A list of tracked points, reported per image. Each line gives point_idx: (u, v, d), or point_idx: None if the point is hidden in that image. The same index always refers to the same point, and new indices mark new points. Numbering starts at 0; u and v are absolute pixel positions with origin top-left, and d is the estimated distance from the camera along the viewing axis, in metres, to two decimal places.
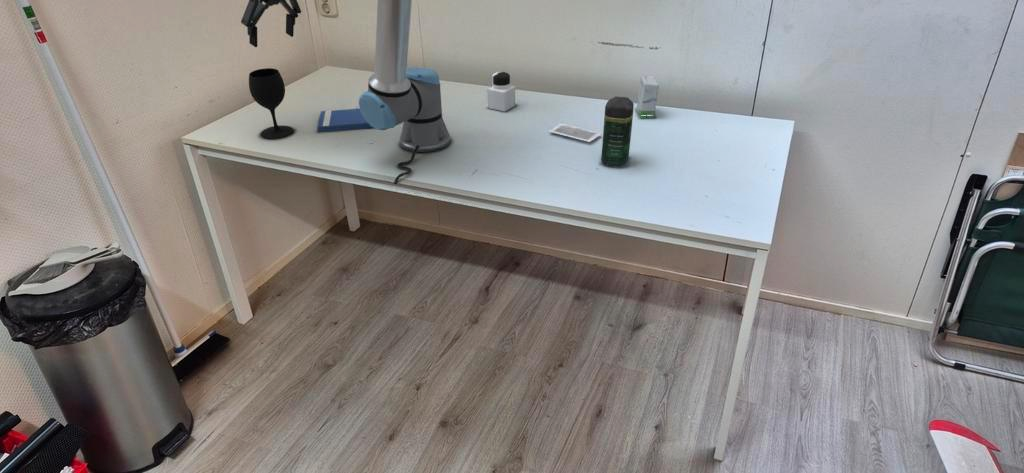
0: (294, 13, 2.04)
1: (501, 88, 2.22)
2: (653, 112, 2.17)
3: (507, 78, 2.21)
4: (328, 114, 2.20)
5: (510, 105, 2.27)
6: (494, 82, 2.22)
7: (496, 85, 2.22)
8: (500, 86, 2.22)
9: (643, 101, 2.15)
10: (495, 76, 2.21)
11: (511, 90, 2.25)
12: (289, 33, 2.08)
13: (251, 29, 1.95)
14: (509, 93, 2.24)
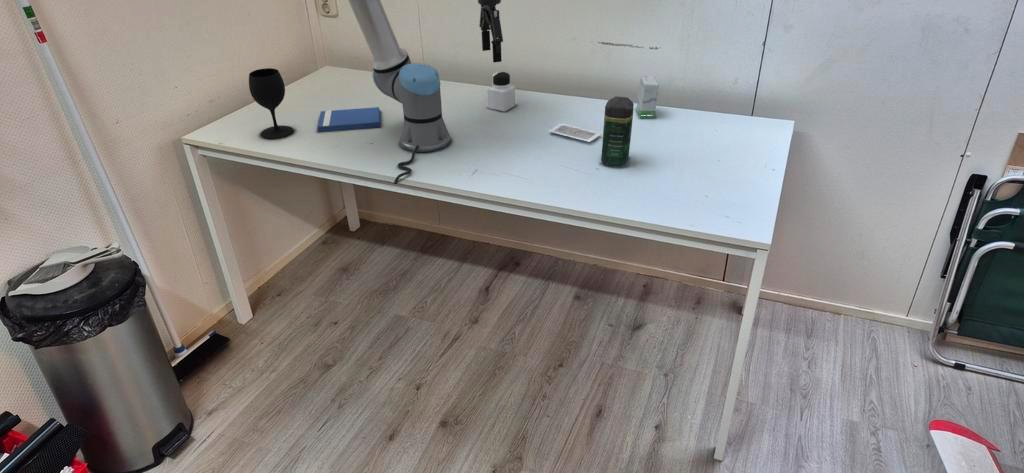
0: (493, 39, 2.12)
1: (501, 88, 2.22)
2: (653, 112, 2.17)
3: (507, 78, 2.21)
4: (328, 114, 2.20)
5: (510, 105, 2.27)
6: (494, 82, 2.22)
7: (496, 85, 2.22)
8: (500, 86, 2.22)
9: (643, 101, 2.15)
10: (495, 76, 2.21)
11: (511, 90, 2.25)
12: None
13: None
14: (509, 93, 2.24)
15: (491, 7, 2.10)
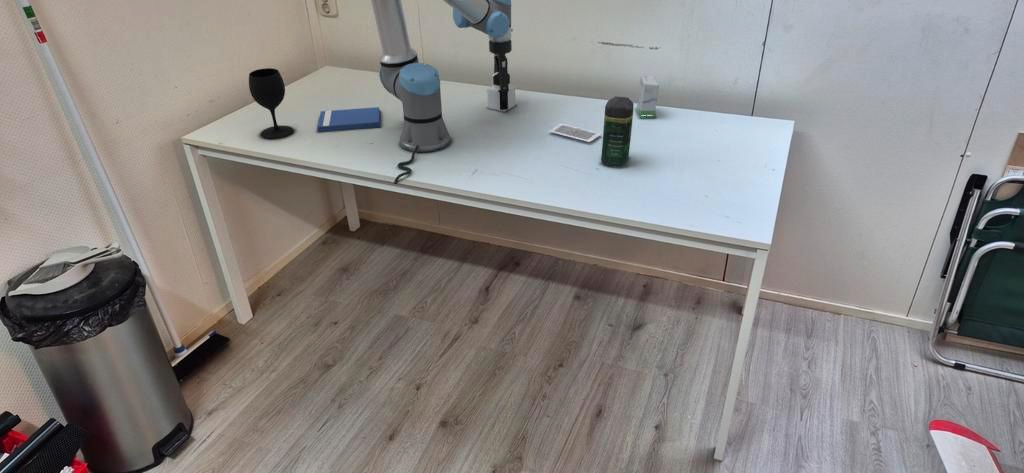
0: (500, 88, 2.19)
1: None
2: (653, 112, 2.17)
3: None
4: (328, 114, 2.20)
5: (510, 105, 2.27)
6: (494, 82, 2.22)
7: (496, 85, 2.22)
8: None
9: (643, 101, 2.15)
10: (495, 76, 2.21)
11: (511, 90, 2.25)
12: None
13: None
14: (509, 93, 2.24)
15: (500, 56, 2.16)
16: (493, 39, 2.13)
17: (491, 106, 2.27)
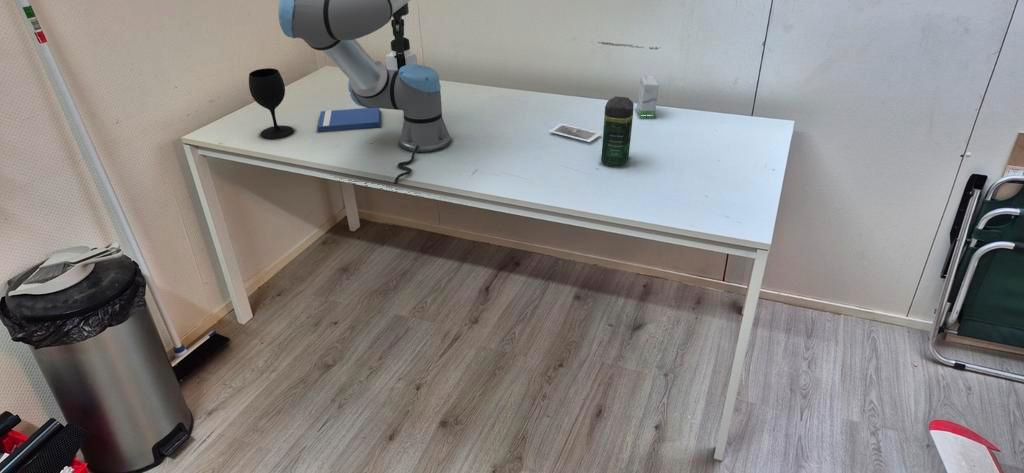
0: None
1: None
2: (653, 112, 2.17)
3: (405, 43, 2.07)
4: (328, 114, 2.20)
5: None
6: (392, 48, 2.08)
7: (394, 51, 2.08)
8: None
9: (643, 101, 2.15)
10: (392, 41, 2.07)
11: (411, 57, 2.10)
12: None
13: None
14: (409, 60, 2.10)
15: (395, 18, 2.01)
16: None
17: None
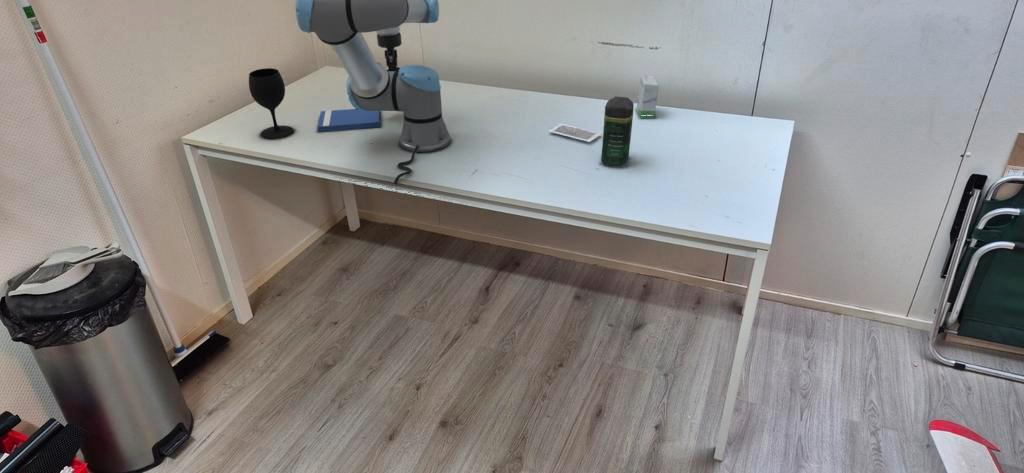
0: None
1: None
2: (653, 112, 2.17)
3: None
4: (328, 114, 2.20)
5: None
6: None
7: None
8: None
9: (643, 101, 2.15)
10: None
11: None
12: None
13: None
14: None
15: (388, 50, 2.06)
16: (379, 32, 2.03)
17: None
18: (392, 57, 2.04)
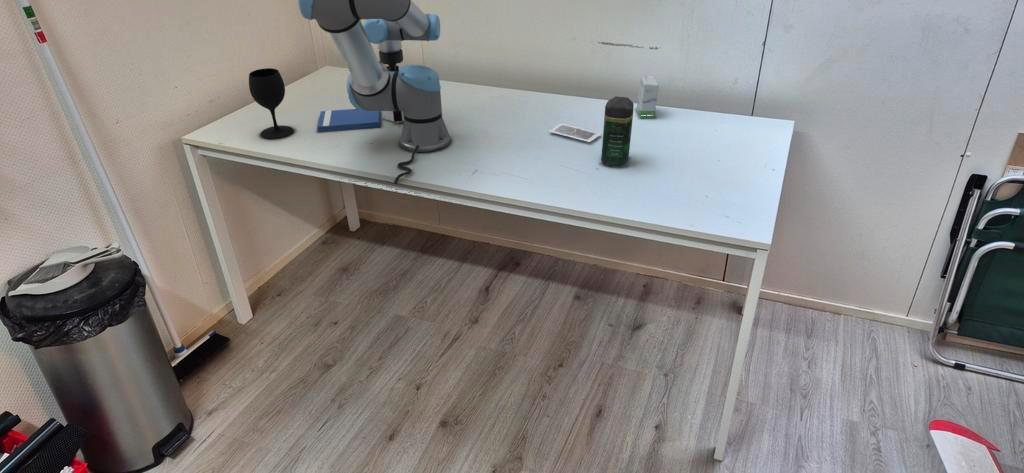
0: None
1: None
2: (653, 112, 2.17)
3: None
4: (328, 114, 2.20)
5: None
6: None
7: None
8: None
9: (643, 101, 2.15)
10: None
11: None
12: None
13: None
14: None
15: (390, 66, 2.08)
16: (381, 49, 2.06)
17: (386, 117, 2.19)
18: None
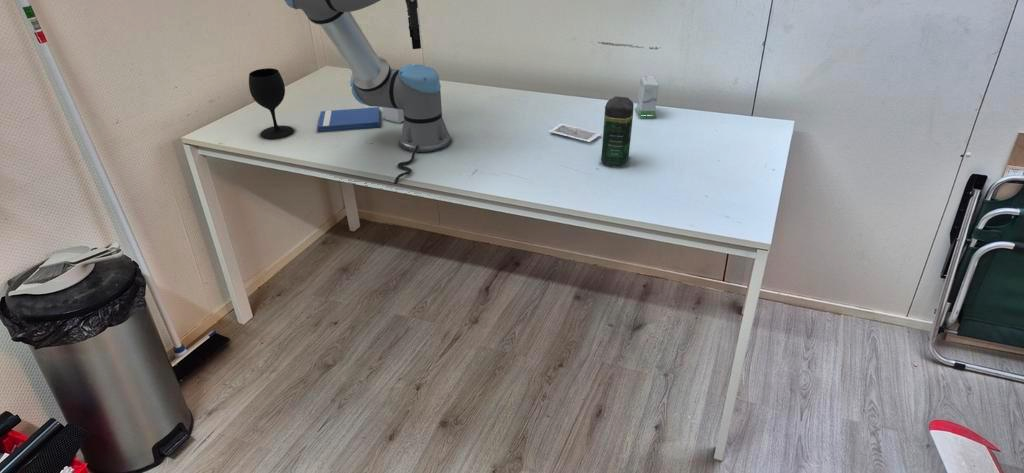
0: (410, 24, 2.05)
1: None
2: (653, 112, 2.17)
3: None
4: (328, 114, 2.20)
5: None
6: None
7: None
8: None
9: (643, 101, 2.15)
10: None
11: None
12: None
13: None
14: None
15: None
16: None
17: (386, 117, 2.19)
18: None
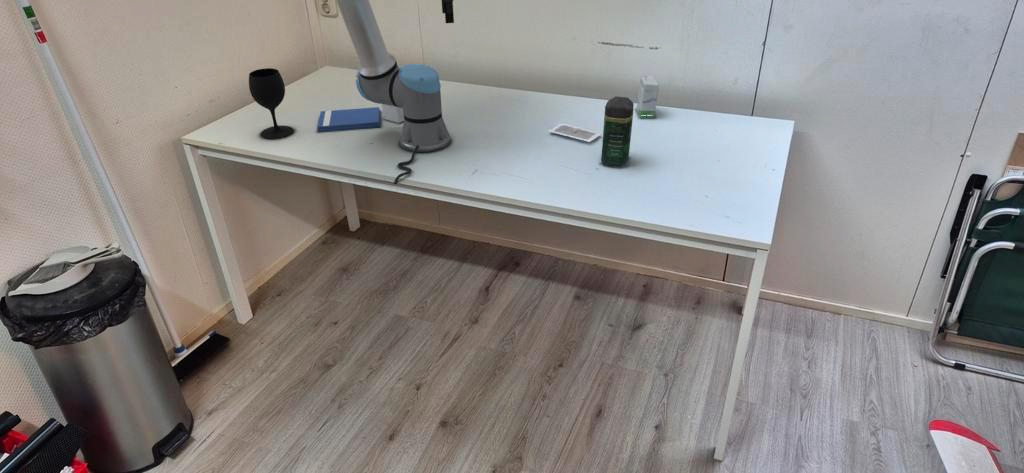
0: None
1: None
2: (653, 112, 2.17)
3: None
4: (328, 114, 2.20)
5: None
6: None
7: None
8: None
9: (643, 101, 2.15)
10: None
11: None
12: None
13: None
14: None
15: None
16: None
17: (386, 117, 2.19)
18: None
